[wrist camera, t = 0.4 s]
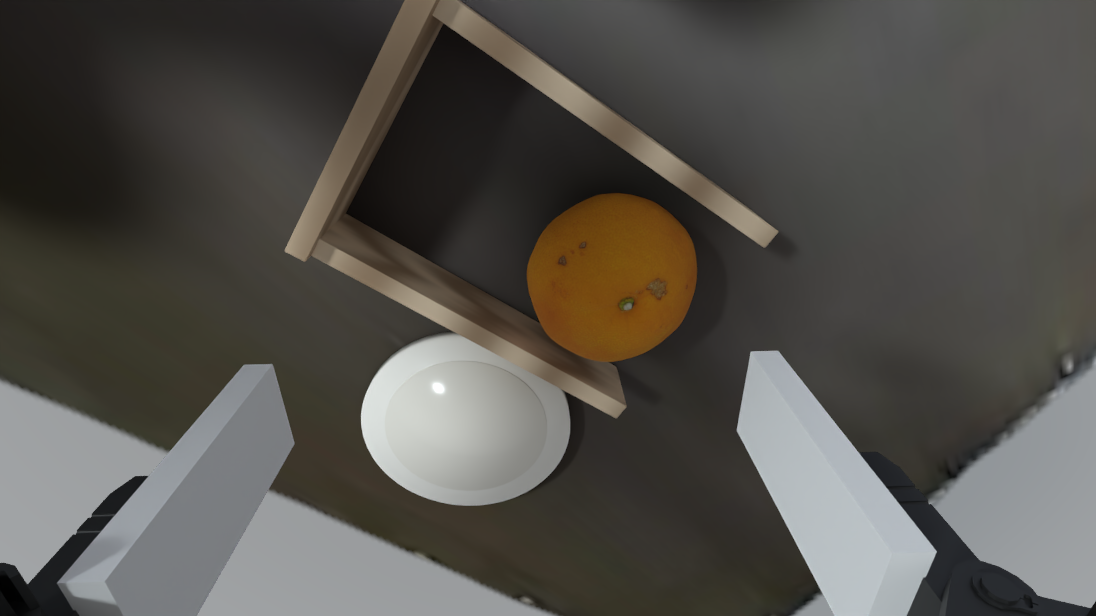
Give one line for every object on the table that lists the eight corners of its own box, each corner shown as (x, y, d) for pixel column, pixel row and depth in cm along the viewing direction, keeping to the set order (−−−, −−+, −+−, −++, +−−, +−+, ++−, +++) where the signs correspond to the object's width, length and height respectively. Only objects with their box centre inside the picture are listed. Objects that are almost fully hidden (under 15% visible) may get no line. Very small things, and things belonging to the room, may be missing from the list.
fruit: (697, 294, 39) (734, 352, 32) (559, 341, 41) (565, 407, 34) (657, 155, 35) (690, 186, 28) (504, 214, 36) (498, 258, 29)
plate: (331, 444, 44) (326, 456, 43) (425, 292, 38) (422, 300, 37) (502, 520, 48) (501, 532, 47) (609, 393, 43) (611, 403, 42)
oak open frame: (321, 218, 36) (284, 250, 31) (437, -17, 30) (417, -28, 25) (607, 377, 42) (618, 427, 37) (748, 207, 36) (785, 237, 31)
